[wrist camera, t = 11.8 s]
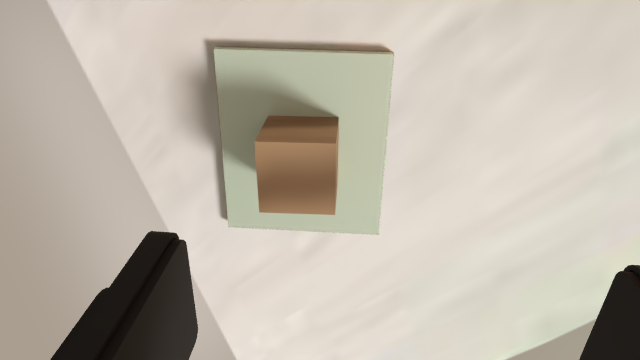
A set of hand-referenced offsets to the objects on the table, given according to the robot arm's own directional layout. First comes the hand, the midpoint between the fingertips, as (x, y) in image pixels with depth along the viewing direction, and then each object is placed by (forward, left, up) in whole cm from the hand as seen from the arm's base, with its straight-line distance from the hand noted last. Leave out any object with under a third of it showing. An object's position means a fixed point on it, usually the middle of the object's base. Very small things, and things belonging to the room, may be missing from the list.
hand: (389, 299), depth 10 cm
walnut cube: (+6, -4, -23) cm, 24 cm away
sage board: (+6, -4, -24) cm, 25 cm away
